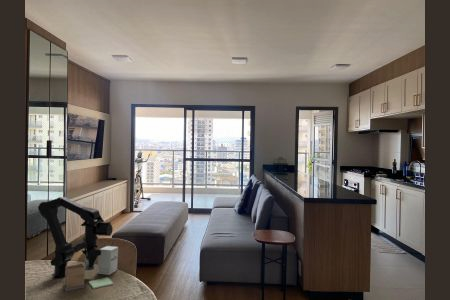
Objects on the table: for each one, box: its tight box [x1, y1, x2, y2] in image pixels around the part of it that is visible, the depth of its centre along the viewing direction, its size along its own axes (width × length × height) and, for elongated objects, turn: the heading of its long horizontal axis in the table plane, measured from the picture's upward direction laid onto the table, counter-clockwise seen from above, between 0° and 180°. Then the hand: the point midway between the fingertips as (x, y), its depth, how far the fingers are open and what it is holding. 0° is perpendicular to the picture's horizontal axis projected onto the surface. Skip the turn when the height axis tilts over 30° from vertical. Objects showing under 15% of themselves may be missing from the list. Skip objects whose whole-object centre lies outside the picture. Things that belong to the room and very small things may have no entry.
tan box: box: [62, 263, 86, 292], centre depth 137 cm, size 7×8×9 cm
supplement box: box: [97, 245, 119, 276], centre depth 157 cm, size 7×7×13 cm
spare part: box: [84, 257, 95, 271], centre depth 149 cm, size 5×5×5 cm
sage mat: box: [88, 277, 114, 290], centre depth 141 cm, size 9×9×1 cm
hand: (89, 266), depth 149 cm, fingers closed on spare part, 4 cm apart
